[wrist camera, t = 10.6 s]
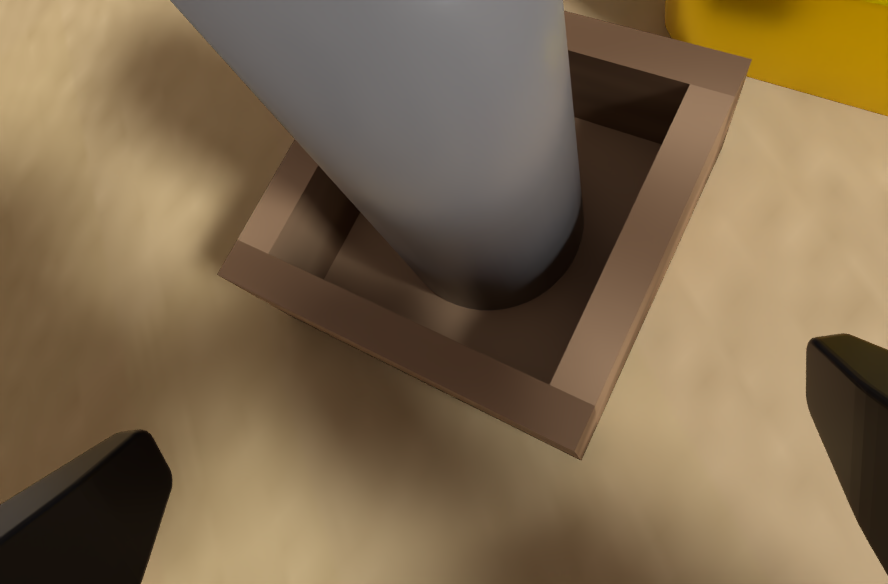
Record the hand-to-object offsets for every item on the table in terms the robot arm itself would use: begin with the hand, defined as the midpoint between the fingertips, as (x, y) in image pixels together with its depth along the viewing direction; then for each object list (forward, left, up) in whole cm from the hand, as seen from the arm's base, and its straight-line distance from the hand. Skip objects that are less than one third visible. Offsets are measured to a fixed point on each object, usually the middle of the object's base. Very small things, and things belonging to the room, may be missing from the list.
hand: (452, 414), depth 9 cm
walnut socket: (+5, +3, -9) cm, 11 cm away
